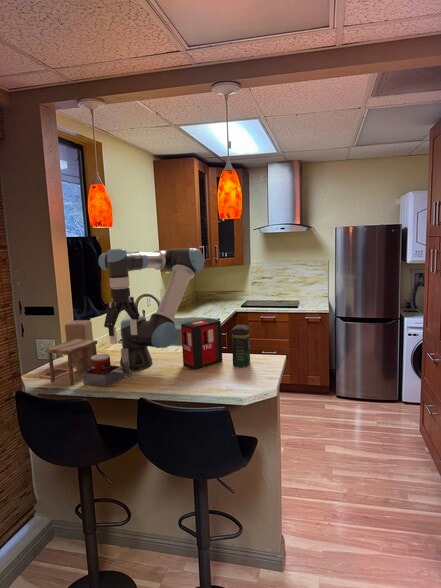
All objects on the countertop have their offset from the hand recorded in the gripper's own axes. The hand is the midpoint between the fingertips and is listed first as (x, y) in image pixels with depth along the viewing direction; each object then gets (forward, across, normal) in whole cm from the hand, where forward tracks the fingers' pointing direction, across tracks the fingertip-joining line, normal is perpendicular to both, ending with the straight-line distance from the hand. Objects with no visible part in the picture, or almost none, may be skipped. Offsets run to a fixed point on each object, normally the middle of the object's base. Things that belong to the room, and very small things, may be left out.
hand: (124, 339), depth 163 cm
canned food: (+20, 0, -13) cm, 24 cm away
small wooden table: (+19, 0, -28) cm, 34 cm away
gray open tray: (+19, +1, -8) cm, 21 cm away
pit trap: (+19, 0, -40) cm, 44 cm away
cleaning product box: (+20, -32, +19) cm, 43 cm away
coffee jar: (+20, -36, +37) cm, 56 cm away
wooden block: (+20, -20, -43) cm, 51 cm away
